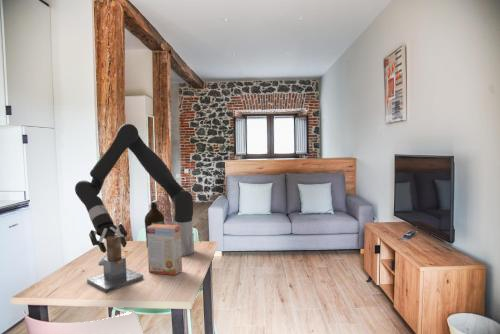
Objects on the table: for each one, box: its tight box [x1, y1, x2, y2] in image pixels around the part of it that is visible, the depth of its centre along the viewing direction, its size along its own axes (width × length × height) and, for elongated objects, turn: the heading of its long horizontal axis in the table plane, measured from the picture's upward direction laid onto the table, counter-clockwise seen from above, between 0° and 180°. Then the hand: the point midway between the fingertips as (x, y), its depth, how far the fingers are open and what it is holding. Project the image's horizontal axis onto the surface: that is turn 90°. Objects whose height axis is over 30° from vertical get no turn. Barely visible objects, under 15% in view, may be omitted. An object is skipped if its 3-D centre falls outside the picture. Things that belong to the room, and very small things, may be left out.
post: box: [105, 234, 122, 261], centre depth 129 cm, size 4×4×17 cm
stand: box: [86, 255, 144, 294], centre depth 130 cm, size 16×16×10 cm
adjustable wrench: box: [98, 253, 107, 266], centre depth 160 cm, size 25×6×2 cm, turn 3°
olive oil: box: [144, 201, 165, 248], centre depth 175 cm, size 11×11×25 cm
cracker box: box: [147, 224, 183, 276], centre depth 138 cm, size 14×6×21 cm, turn 71°
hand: (115, 248), depth 128 cm, fingers open, 8 cm apart
